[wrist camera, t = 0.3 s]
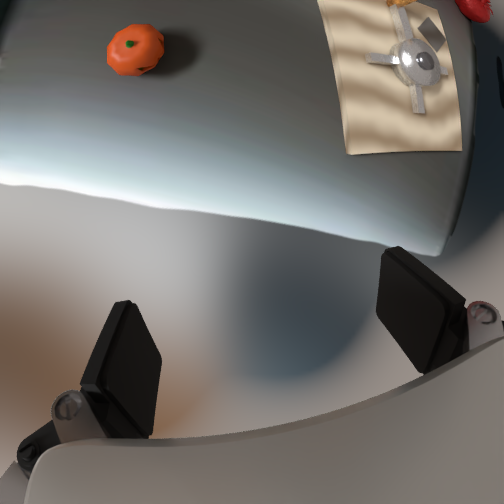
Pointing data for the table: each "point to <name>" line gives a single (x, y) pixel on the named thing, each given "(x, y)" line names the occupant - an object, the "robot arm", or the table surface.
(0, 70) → the table surface
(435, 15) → the wooden board
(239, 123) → the table surface
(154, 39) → the pumpkin
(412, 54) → the cylinder
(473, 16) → the pomegranate
